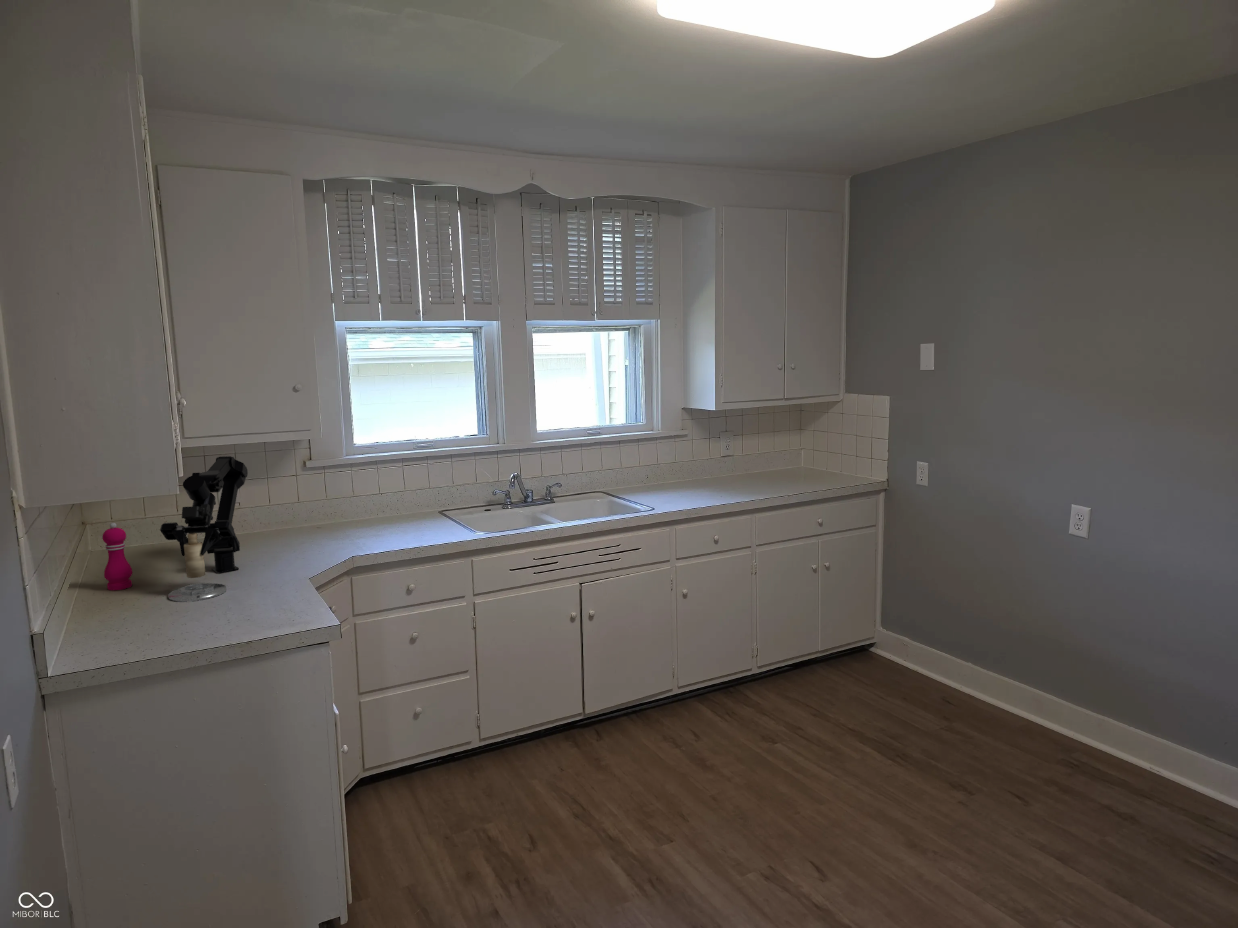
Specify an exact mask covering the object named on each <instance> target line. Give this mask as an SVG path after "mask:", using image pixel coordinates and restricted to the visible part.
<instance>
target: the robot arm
mask: <svg viewBox="0 0 1238 928" xmlns="http://www.w3.org/2000/svg"><path fill="white" fill-rule="evenodd" d="M248 473H249V472H248V468H247V466H246V464H245V463H244V462H243V461H240V460H238V459H235V457H234V456H230V455H227V456H225V455H223V456H217V457H216V458H215V461H214V463H213V464H212V465H211V466H210V467H209V469H207V470H206V471H204V472H203V471H201V472H192V475H191V476H188V477H186V479H184V480H183V482H182V487H183V488H184V491H185V492H186V495H187V496H188V497H189V499H190V500H191V501H192V505H191V506H182V509H181V518H182V519H184V523H185V524H186V525H187V526H184V525H182V524H181V525H179V524H178V522H164V523H162V524H161V525H160V530H159V531H160V532H161V534H162V535H163V537H164V538H165V540H167V541H176V542H178V543H179V548H180V553H181V556H182V557H185V552H184V544H187V543H188V534H189V533H197V534H204V538H203V542H202V543H203V545H202V548H201V555H205V554H206V553H207V554H208V555H209V554H213V556H214V567H212V568H211V571H212V572H215V573H217V574H222V573H229V572H232V571H237V570H239V567H238V566H236V564H235V553H237V552H240V551H241V548H240V547H241V545H240V541H239V539H238V537H237V535H236V533H235V528H234V527H233V519H234V512H235V507H236V502H237V497H238V496H237V495H238V490H239V489H240V488H241V487H243V486H244V485H245V483H246V479H247V478H248ZM219 492H220V499H219V503H218V508H217V514H216V518H215V521H214V522H211V521H213V520H214V516H213V512H214V509H215V508H214V507H215V505H217V501H216V496H215V494H213V493H219Z"/></svg>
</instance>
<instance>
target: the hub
mask: <svg viewBox="0 0 1238 928" xmlns="http://www.w3.org/2000/svg"><path fill="white" fill-rule="evenodd" d="M224 592H225V593H226V592H227V586H226V584H222V583H214V582H213V583H212V582H199V583H198V582H197V583H191V584H188V585H185V586H182V587H179V588H177V589H174V590H172V591H171V592H169V593H168V595H167V596H168V600H170V601H171V600H172V602H176V601H178V602H179V603H185V602H186V603H188V602H187V601H192V602H198V601H199V600H200V601H204V600H209V599H214V598H216V597H219V596H221V595H223V594H225V593H224Z"/></svg>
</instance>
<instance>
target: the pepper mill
mask: <svg viewBox="0 0 1238 928" xmlns="http://www.w3.org/2000/svg"><path fill="white" fill-rule="evenodd" d="M101 539H102V541H103V542H104V543H105V550H106V551H107V555H108V559H107V564H106V566H105V569H104V572H103V573H104V574H103V576H104V577H103V578H104V579H105V580H106V581H108V582H107V584H106V587H107V590H108V591H122V590H126V588H127V589H129V588H132V586H133V581H132V579H130V578H131V577H132V575H133V573H134V572H133V568H132V566H131V564H130V563H129V562H128V560H127V558H126V556H125V548H126V543H125V541H126V539H127V534H126V531H125V530H124V529H122V528H121V527H118V526H117V523H115V522H111V523H110V524H109V528H108V529H107V528H106V530H104V531H103V533H102V538H101Z"/></svg>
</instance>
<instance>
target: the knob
mask: <svg viewBox="0 0 1238 928" xmlns="http://www.w3.org/2000/svg"><path fill="white" fill-rule="evenodd" d="M187 538H188V543H187V544H184V552H185V556H184V561H185V572H186V578H188V579H196V578H198V579H199V578H201V577H202V578H203V577H204V576H206V566H205V556H204V555H205V554H204V555H201V548H202V545H203V542H201V541H199V540H198V533H187Z"/></svg>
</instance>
